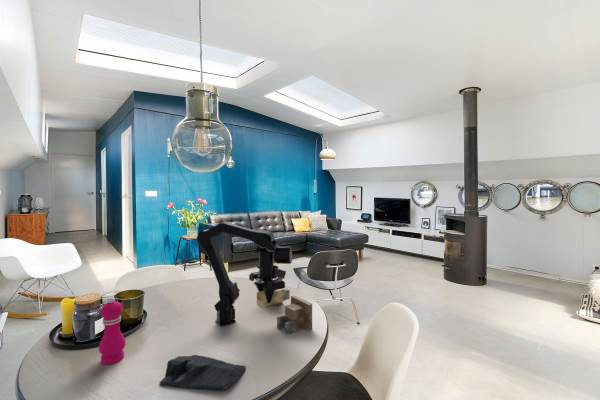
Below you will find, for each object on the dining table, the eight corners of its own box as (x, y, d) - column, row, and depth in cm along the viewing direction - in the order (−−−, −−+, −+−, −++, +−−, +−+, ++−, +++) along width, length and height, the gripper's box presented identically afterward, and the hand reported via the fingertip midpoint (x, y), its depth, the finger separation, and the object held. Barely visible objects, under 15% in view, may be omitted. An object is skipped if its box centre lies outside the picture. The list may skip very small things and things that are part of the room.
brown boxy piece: (291, 336, 110) (291, 310, 110) (273, 325, 120) (273, 300, 119) (312, 329, 116) (312, 303, 116) (293, 318, 126) (293, 295, 125)
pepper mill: (120, 350, 100) (119, 292, 100) (129, 358, 96) (128, 296, 95) (95, 360, 95) (94, 298, 94) (103, 368, 90) (102, 303, 90)
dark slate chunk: (224, 401, 77) (224, 383, 77) (154, 386, 83) (154, 369, 83) (250, 368, 91) (250, 352, 91) (189, 356, 98) (189, 342, 98)
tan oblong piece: (261, 307, 117) (261, 294, 116) (256, 304, 119) (256, 292, 119) (290, 299, 125) (290, 287, 125) (285, 297, 128) (285, 285, 128)
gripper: (296, 264, 117) (296, 303, 118) (271, 256, 132) (271, 291, 132) (272, 268, 110) (272, 310, 111) (248, 259, 125) (248, 296, 126)
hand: (266, 301), depth 120 cm, fingers closed on tan oblong piece, 3 cm apart
